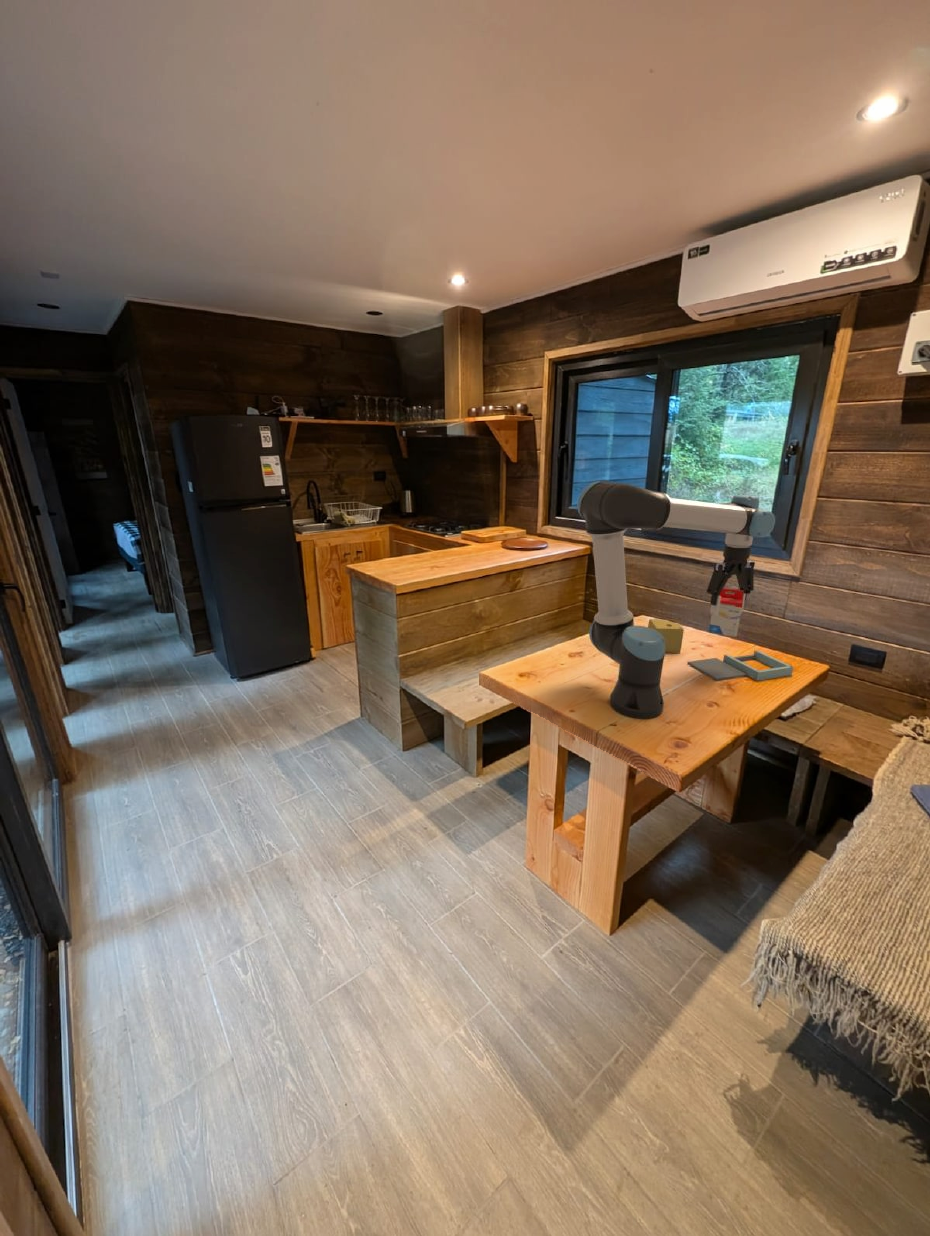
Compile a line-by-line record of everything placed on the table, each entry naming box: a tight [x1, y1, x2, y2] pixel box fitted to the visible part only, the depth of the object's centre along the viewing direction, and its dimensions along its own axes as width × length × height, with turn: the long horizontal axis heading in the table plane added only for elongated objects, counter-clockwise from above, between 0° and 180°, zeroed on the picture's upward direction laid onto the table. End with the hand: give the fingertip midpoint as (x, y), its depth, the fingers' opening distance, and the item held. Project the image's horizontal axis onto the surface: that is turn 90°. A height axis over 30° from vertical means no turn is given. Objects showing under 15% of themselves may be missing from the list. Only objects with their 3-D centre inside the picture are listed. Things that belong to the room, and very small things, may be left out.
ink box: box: [708, 587, 744, 637], centre depth 166 cm, size 8×5×15 cm, turn 62°
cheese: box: [647, 618, 685, 654], centre depth 190 cm, size 10×11×10 cm
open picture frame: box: [722, 649, 794, 682], centre depth 173 cm, size 14×15×3 cm
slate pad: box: [687, 657, 747, 682], centre depth 173 cm, size 12×14×1 cm
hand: (726, 612), depth 166 cm, fingers closed on ink box, 9 cm apart
